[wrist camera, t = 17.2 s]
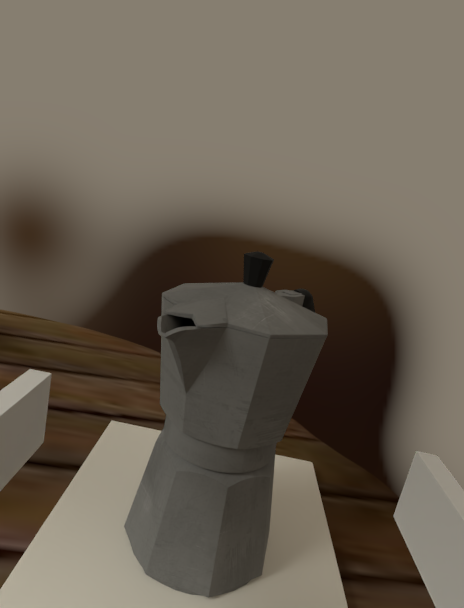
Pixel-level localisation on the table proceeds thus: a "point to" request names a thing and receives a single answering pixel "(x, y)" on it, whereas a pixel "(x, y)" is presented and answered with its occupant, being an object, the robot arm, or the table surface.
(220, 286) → the coffeepot
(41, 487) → the table surface
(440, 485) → the robot arm
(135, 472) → the placemat
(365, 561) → the table surface
